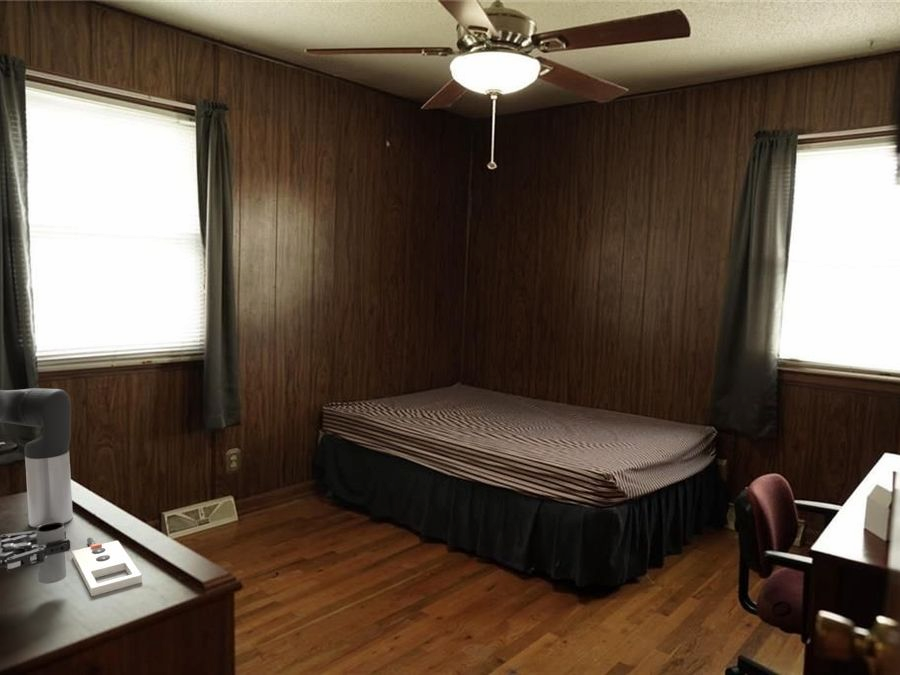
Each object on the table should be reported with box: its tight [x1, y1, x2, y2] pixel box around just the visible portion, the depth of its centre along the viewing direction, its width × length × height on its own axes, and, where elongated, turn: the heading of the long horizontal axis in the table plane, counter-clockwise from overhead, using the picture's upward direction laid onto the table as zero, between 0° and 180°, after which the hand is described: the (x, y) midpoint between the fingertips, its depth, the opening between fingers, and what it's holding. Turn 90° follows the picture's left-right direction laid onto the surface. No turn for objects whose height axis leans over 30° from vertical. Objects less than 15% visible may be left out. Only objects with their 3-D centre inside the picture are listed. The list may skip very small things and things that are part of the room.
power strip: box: [71, 537, 143, 597], centre depth 138 cm, size 27×9×2 cm, turn 39°
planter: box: [35, 522, 67, 585], centre depth 123 cm, size 4×4×10 cm
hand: (67, 539), depth 125 cm, fingers closed on planter, 4 cm apart
